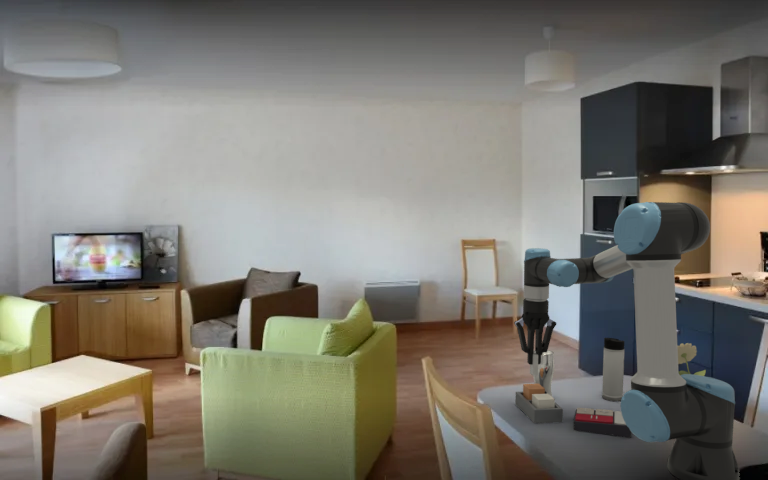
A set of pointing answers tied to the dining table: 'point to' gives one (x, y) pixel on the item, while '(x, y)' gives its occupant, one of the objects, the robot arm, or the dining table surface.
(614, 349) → the travel mug
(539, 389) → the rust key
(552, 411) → the key housing
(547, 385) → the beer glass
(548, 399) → the cream key
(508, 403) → the dining table surface
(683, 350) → the flower in vase
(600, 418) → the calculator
